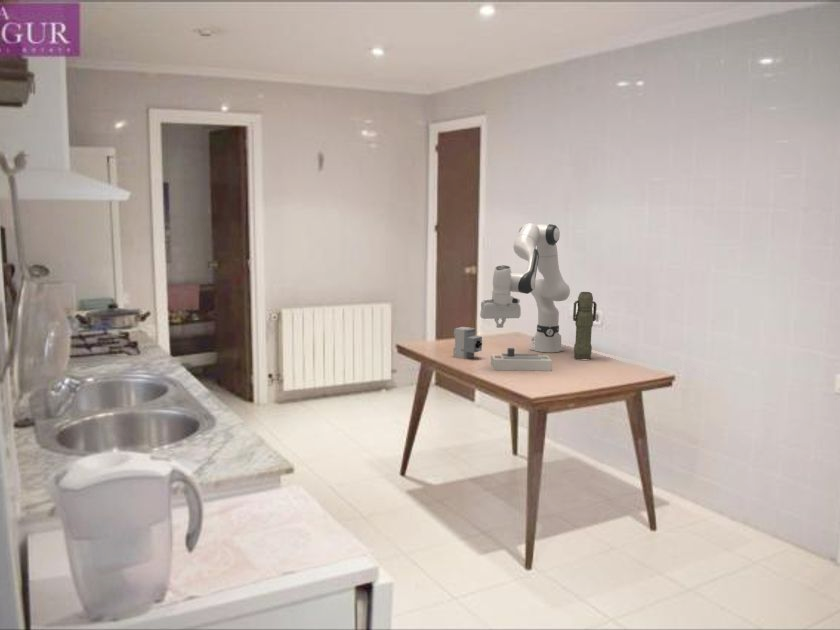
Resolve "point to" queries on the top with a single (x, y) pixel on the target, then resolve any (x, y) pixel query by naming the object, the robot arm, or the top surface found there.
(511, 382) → the top surface
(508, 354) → the breaker toggle
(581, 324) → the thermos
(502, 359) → the white slider track board
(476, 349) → the circuit breaker
